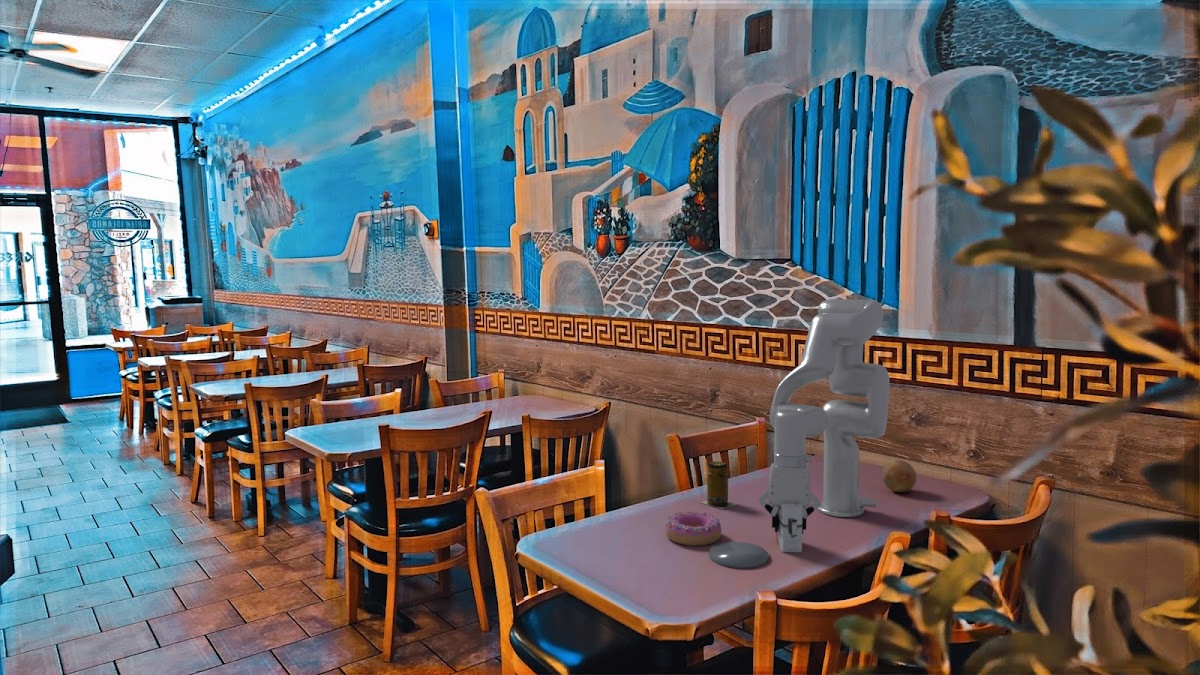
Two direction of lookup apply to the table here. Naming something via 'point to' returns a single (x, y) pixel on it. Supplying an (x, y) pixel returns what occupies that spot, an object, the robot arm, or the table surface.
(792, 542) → the ink box
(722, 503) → the condiment
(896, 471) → the onion
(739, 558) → the grey oval disc
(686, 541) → the donut
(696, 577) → the table surface
